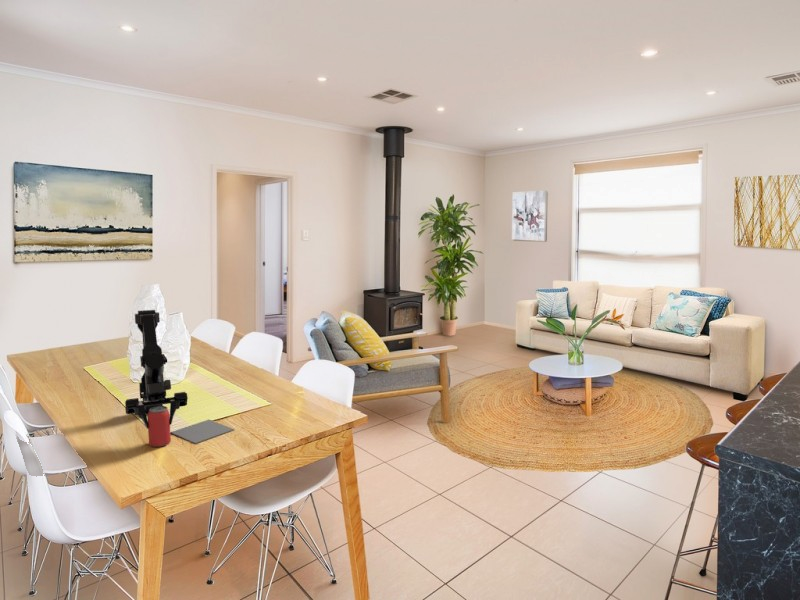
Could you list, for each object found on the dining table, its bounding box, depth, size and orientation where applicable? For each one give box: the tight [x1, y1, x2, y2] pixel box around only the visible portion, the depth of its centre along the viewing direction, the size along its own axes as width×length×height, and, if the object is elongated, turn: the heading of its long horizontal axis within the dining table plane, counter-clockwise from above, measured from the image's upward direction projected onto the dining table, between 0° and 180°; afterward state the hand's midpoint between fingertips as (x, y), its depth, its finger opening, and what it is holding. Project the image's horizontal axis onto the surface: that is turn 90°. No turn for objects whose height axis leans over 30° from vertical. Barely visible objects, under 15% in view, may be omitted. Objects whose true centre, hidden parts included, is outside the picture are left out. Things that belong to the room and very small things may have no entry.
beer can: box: [146, 405, 172, 448], centre depth 170 cm, size 7×7×12 cm
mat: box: [170, 419, 235, 445], centre depth 181 cm, size 15×15×1 cm
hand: (159, 425), depth 168 cm, fingers closed on beer can, 6 cm apart
